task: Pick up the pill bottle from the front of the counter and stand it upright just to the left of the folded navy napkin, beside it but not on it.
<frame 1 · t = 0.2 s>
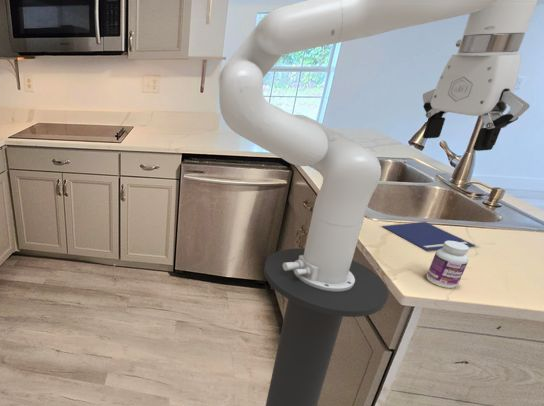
hand: (454, 143, 69), 32 cm above the worktop, tool pointing down, fingers open, 9 cm apart
pill bottle: (441, 282, 82), on the worktop
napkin: (425, 236, 101), on the worktop
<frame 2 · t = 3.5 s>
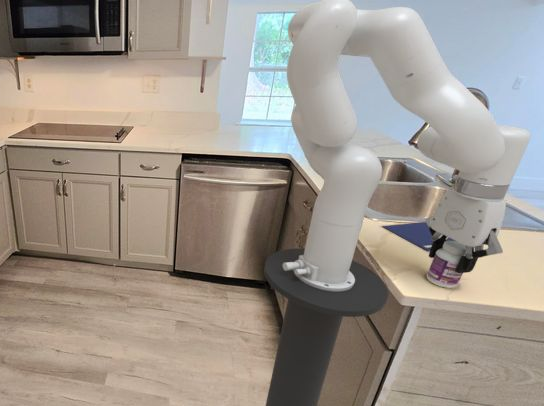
hand: (448, 263, 80), 5 cm above the worktop, tool pointing down, fingers closed on pill bottle, 5 cm apart
pill bottle: (441, 282, 82), on the worktop, touching gripper
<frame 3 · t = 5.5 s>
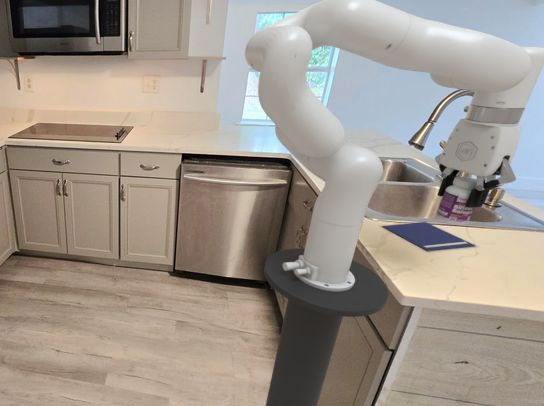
hand: (458, 200, 78), 19 cm above the worktop, tool pointing down, fingers closed on pill bottle, 5 cm apart
pill bottle: (450, 221, 80), point 14 cm above the worktop, touching gripper
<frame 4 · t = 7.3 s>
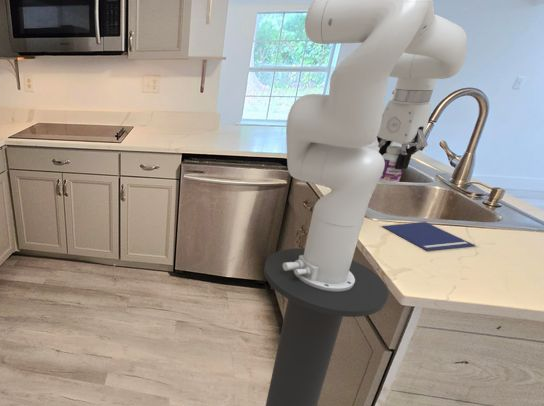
hand: (391, 164, 99), 19 cm above the worktop, tool pointing down, fingers closed on pill bottle, 5 cm apart
pill bottle: (386, 181, 101), point 14 cm above the worktop, touching gripper
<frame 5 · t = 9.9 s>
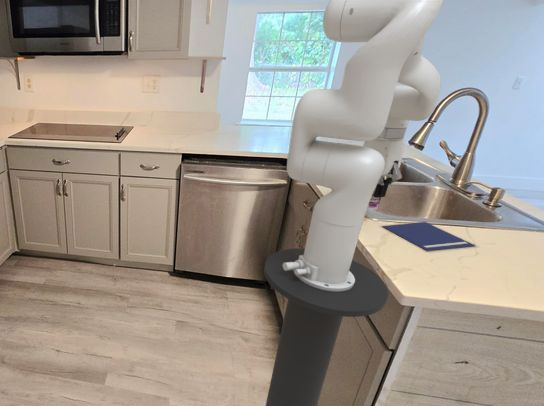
hand: (370, 192, 108), 9 cm above the worktop, tool pointing down, fingers closed on pill bottle, 5 cm apart
pill bottle: (366, 207, 110), point 4 cm above the worktop, touching gripper
when the fingers open (5 cm above the worktop, at t = 11.4 s): pill bottle stays where it is, on the worktop.
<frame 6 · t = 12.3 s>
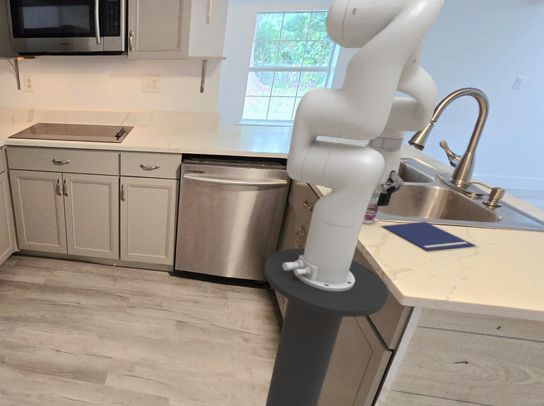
hand: (368, 199, 108), 7 cm above the worktop, tool pointing down, fingers open, 9 cm apart
pill bottle: (363, 220, 111), on the worktop
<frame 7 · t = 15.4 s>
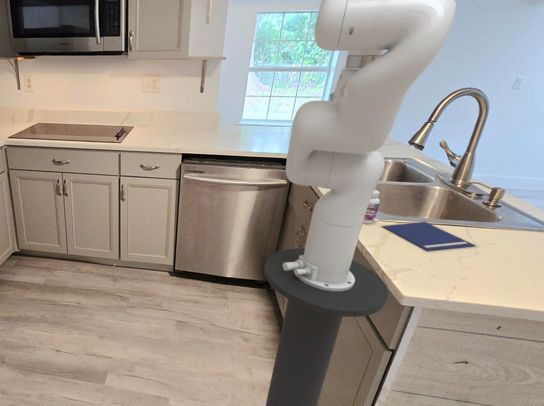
hand: (347, 128, 101), 28 cm above the worktop, tool pointing down, fingers open, 9 cm apart
nothing on the worktop moved.
at the end: pill bottle inside the target area on the worktop beside the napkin (1.0 cm from its centre), on the worktop; pill bottle tilted 0°; the gripper is holding nothing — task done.
